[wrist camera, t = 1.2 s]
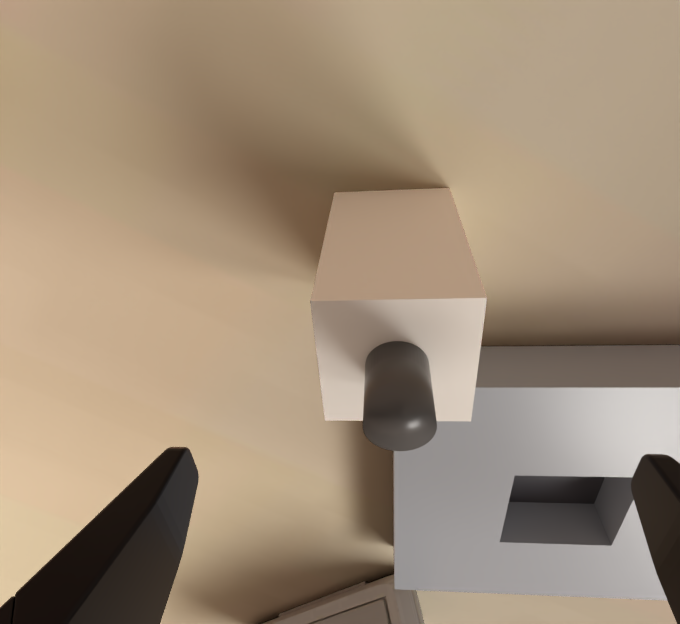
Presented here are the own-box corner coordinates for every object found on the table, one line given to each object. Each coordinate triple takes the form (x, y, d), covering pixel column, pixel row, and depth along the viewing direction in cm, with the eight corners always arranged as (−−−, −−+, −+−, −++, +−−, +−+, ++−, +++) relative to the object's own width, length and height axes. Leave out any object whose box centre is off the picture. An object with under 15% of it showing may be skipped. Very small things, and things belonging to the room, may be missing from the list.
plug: (449, 187, 16) (506, 355, 9) (443, 286, 19) (484, 485, 11) (334, 192, 17) (297, 356, 9) (341, 288, 19) (317, 482, 12)
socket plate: (794, 343, 19) (845, 387, 17) (665, 555, 28) (688, 601, 26) (392, 347, 20) (393, 387, 18) (393, 547, 29) (394, 589, 27)
